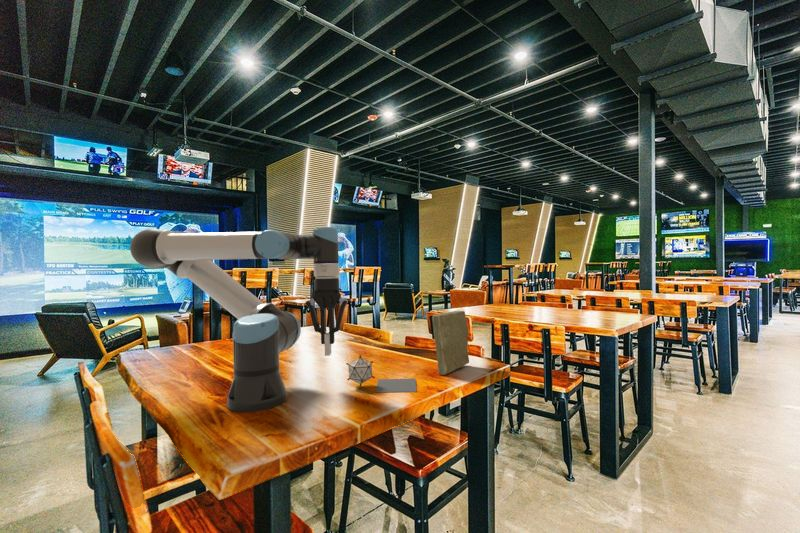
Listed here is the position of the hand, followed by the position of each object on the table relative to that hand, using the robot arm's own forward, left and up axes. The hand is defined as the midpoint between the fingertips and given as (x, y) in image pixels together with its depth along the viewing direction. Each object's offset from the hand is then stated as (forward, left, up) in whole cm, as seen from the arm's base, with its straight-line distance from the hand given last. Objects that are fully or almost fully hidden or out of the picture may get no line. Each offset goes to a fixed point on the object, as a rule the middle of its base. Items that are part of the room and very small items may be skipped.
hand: (328, 354), depth 112 cm
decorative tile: (+41, +18, -10) cm, 46 cm away
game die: (+10, 0, -10) cm, 14 cm away
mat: (+21, 0, -10) cm, 23 cm away
